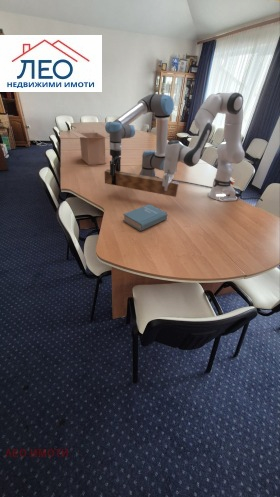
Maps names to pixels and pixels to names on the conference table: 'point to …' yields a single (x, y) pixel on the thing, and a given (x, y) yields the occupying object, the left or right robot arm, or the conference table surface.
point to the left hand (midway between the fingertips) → (115, 183)
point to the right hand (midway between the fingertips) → (167, 188)
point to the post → (142, 183)
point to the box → (92, 146)
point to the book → (144, 217)
